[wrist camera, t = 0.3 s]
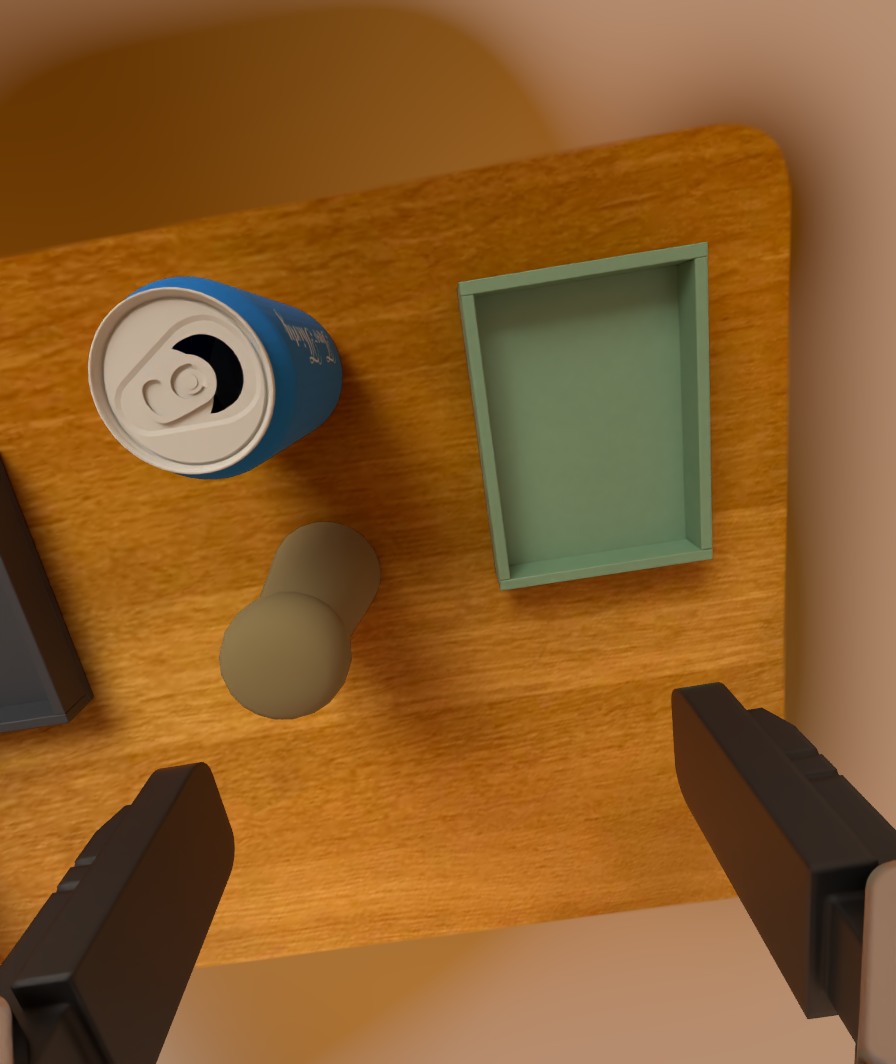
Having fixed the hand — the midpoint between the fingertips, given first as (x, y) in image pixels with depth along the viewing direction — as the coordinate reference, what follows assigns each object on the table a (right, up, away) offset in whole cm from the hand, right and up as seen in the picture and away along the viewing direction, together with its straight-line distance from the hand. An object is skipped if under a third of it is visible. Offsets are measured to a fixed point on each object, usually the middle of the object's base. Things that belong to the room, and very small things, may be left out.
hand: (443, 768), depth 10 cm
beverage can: (-8, +12, +19) cm, 24 cm away
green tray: (+7, +10, +20) cm, 24 cm away
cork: (-7, +2, +23) cm, 24 cm away
